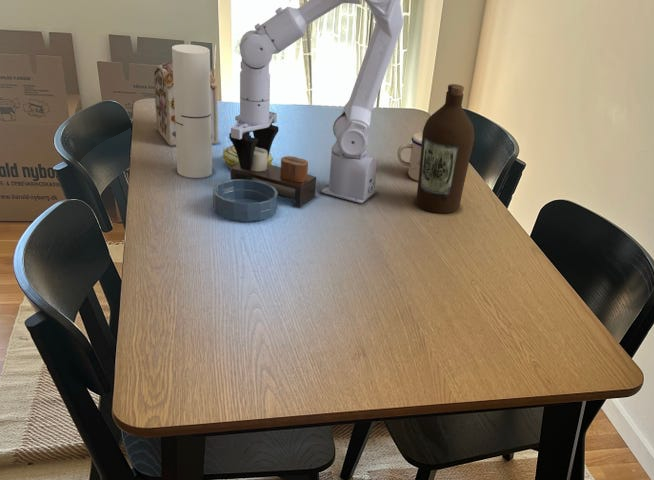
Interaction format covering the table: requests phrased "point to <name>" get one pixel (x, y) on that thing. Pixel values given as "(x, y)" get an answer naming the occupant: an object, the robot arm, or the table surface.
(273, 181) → the rack
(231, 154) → the decorated donut
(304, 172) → the brown rounded block
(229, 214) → the bowl
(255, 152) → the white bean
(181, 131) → the cylindrical container
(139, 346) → the table surface
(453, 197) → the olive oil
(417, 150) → the teacup with lid
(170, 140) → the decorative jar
